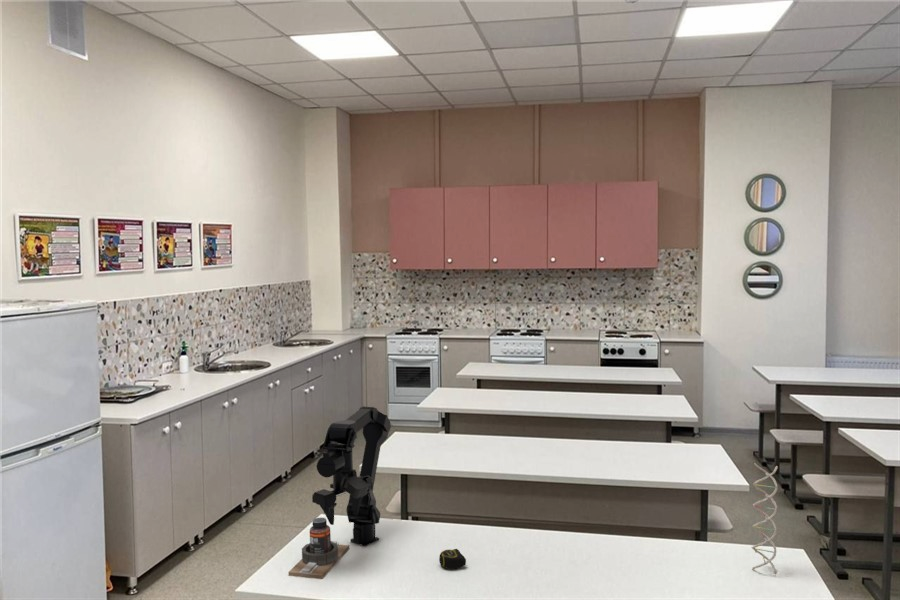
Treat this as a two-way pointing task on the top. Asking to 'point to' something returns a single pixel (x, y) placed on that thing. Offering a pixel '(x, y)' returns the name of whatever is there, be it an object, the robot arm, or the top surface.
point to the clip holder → (318, 561)
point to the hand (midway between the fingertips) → (343, 519)
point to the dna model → (766, 518)
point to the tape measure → (452, 559)
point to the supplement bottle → (320, 537)
